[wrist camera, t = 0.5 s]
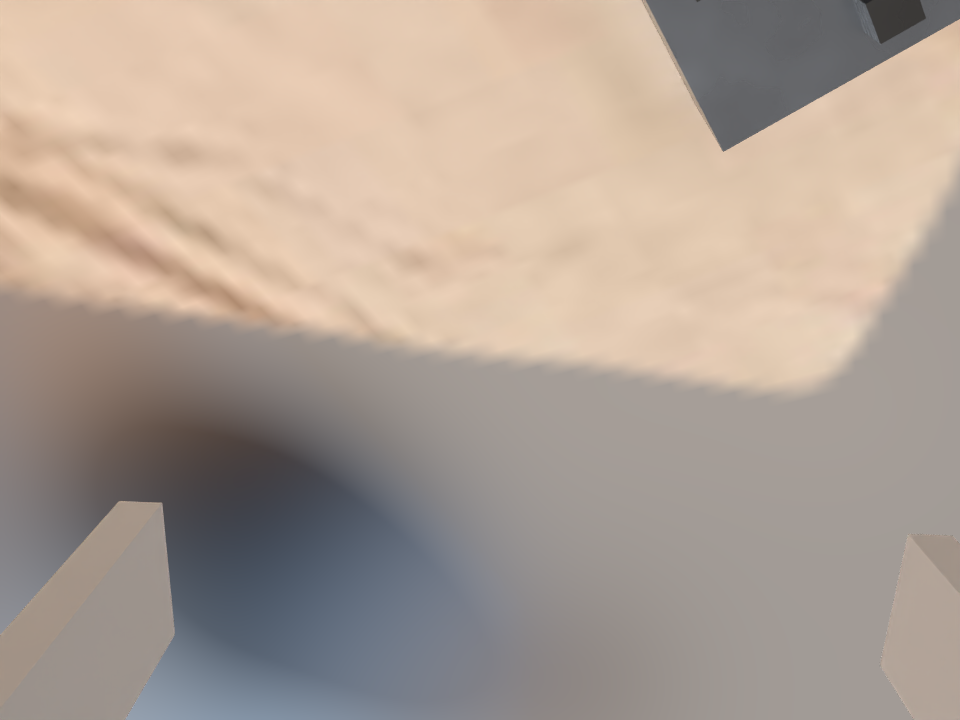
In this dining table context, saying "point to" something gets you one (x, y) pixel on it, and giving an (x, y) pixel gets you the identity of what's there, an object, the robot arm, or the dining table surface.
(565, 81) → the dining table surface
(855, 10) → the block
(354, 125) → the dining table surface
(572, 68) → the dining table surface
